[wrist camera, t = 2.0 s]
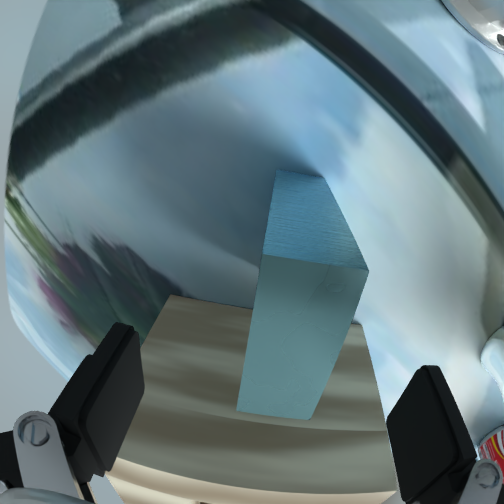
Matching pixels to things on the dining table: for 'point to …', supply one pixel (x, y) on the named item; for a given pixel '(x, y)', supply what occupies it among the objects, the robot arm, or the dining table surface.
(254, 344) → the tall teal pillar
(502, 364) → the chrome pint tumbler
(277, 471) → the wooden box with hole
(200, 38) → the dining table surface
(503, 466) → the soda can
